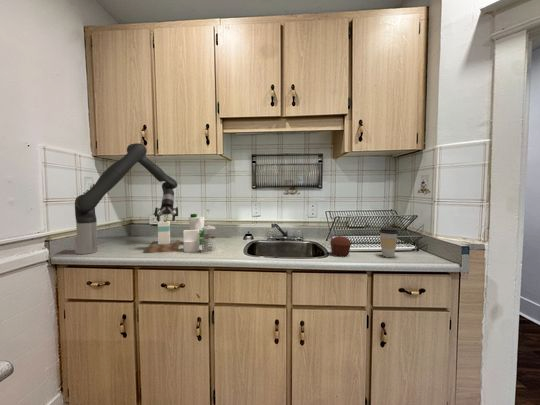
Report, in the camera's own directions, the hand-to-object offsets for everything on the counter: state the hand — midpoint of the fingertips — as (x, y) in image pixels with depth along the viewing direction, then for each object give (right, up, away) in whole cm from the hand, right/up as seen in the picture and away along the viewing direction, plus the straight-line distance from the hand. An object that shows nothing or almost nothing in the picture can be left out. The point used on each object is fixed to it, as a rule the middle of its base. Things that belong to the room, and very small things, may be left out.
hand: (165, 220), depth 153 cm
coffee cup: (+131, -18, -22) cm, 134 cm away
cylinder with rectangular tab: (+20, -17, -9) cm, 28 cm away
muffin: (+106, -18, -18) cm, 109 cm away
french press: (+30, -17, -13) cm, 37 cm away
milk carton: (+18, -16, +8) cm, 25 cm away
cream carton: (+2, -13, -6) cm, 15 cm away
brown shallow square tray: (+2, -17, -6) cm, 18 cm away
